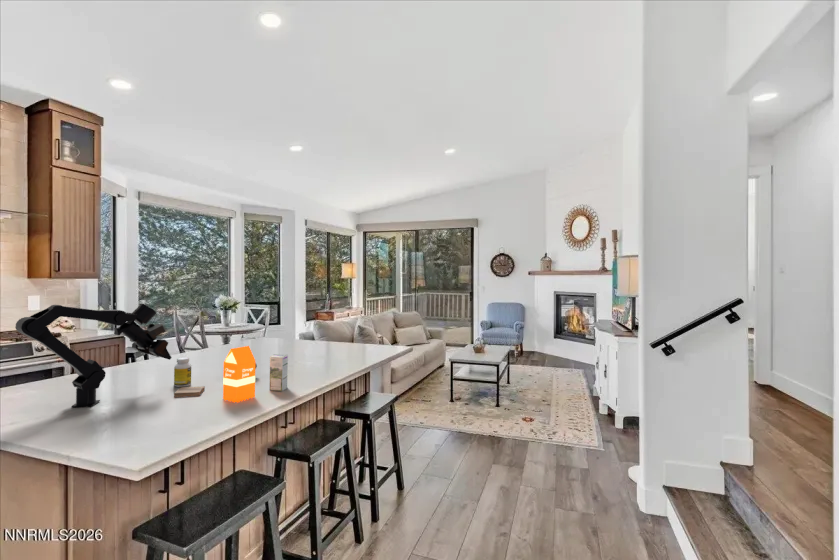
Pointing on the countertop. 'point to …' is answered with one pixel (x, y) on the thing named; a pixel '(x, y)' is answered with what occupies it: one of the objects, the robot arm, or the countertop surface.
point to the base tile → (189, 391)
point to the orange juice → (239, 375)
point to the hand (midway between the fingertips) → (164, 357)
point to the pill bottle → (182, 373)
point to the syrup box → (278, 372)
